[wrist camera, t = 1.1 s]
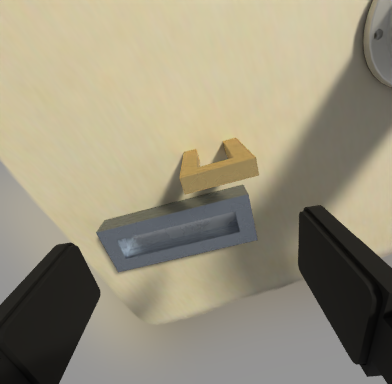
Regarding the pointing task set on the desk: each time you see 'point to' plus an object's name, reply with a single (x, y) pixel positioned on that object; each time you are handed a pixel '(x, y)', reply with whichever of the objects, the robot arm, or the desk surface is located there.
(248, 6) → the desk surface
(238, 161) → the wooden u-shaped block
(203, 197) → the rail
